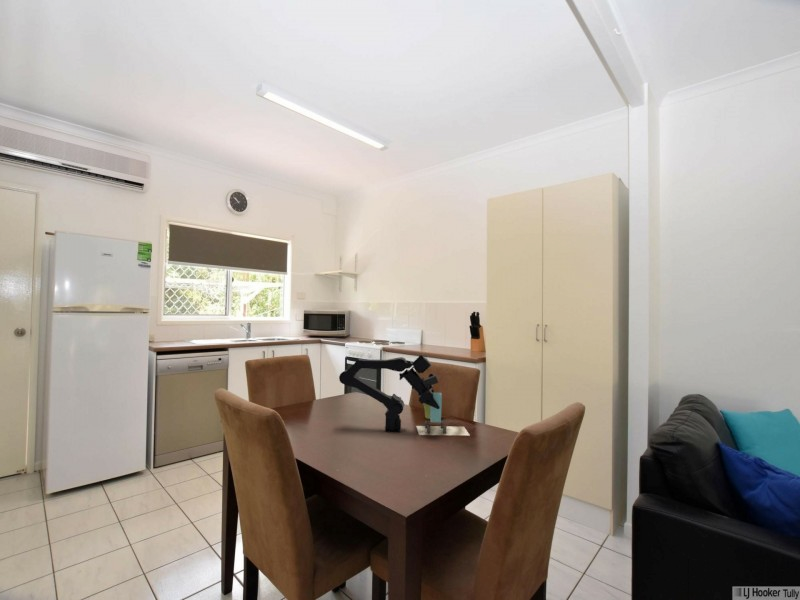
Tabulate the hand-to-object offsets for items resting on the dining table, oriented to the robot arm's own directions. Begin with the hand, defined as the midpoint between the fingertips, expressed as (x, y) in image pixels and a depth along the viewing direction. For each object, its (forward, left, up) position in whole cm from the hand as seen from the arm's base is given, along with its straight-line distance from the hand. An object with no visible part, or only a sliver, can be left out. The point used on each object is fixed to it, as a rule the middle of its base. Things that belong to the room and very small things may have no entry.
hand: (439, 407), depth 165 cm
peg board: (+2, 0, -11) cm, 11 cm away
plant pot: (0, +20, -12) cm, 23 cm away
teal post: (-1, 0, -6) cm, 6 cm away
